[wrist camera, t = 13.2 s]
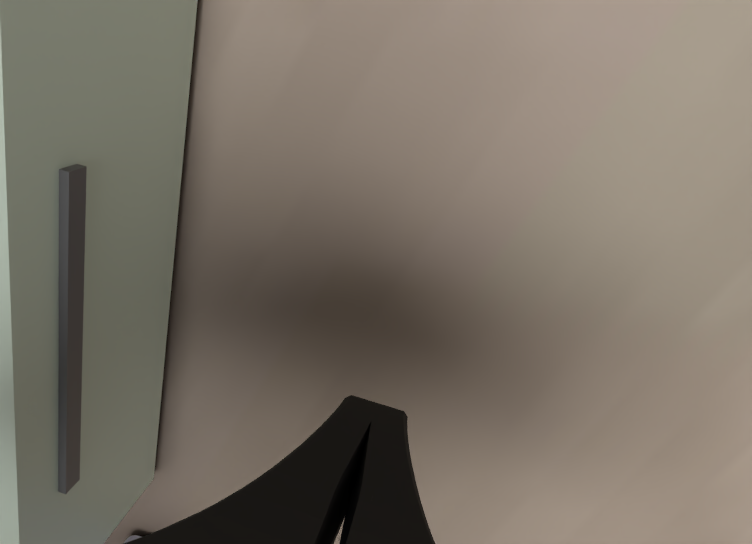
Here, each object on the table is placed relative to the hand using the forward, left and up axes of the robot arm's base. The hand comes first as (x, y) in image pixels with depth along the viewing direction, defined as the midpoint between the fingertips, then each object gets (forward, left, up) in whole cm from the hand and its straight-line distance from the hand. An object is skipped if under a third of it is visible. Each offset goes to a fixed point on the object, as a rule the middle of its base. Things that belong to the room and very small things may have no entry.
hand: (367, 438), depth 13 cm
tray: (+1, +13, -4) cm, 13 cm away
